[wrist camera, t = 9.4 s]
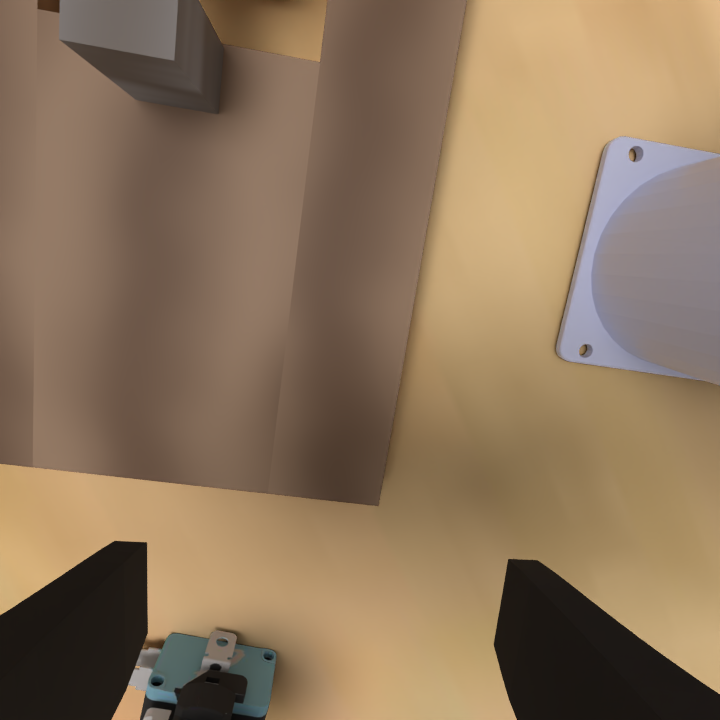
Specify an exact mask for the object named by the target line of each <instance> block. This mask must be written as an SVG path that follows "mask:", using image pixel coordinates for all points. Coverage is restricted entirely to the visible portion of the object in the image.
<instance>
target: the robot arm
mask: <svg viewBox="0 0 720 720" xmlns="http://www.w3.org/2000/svg"><path fill="white" fill-rule="evenodd" d="M630 149H633V150H635V152H636V159H635V161H634V162H633V161H631V160H630V159H629V151H630ZM584 344H586V345H587V351H586V353H585V354H583V355H580V354H579V349H580V347H581V346H582V345H584ZM556 352H557V354H558V356H559V357H560V358H562V359H564V360H566V361H569V362H575V363H582V364H589V365H596V366H603V367H610V368H617V369H624V370H632V371H639V372H646V373H653V374H660V375H667V376H674V377H681V378H688V379H695V380H702V381H707V382H710V383H713V384H716V385H719V386H720V154H717V153H712V152H707V151H701V150H696V149H690V148H685V147H680V146H674V145H669V144H663V143H658V142H653V141H647V140H642V139H636V138H631V137H626V136H624V137H618V138H615V139H613V140H611V141H609V142H608V144H607V145H606V146H605V148H604V150H603V154H602V158H601V162H600V166H599V170H598V174H597V179H596V183H595V187H594V191H593V195H592V199H591V204H590V208H589V212H588V216H587V220H586V224H585V228H584V233H583V237H582V241H581V245H580V249H579V253H578V257H577V262H576V266H575V270H574V274H573V278H572V282H571V287H570V291H569V295H568V299H567V303H566V307H565V311H564V316H563V320H562V324H561V328H560V332H559V336H558V340H557V345H556ZM147 634H148V615H147V543H146V542H124V541H114V542H112V543H111V544H109V545H107V546H106V547H104V548H102V549H101V550H99V551H98V552H96V553H95V554H93V555H92V556H90V557H89V558H87V559H86V560H84V561H83V562H81V563H80V564H78V565H77V566H75V567H74V568H72V569H71V570H69V571H68V572H66V573H65V574H63V575H62V576H60V577H59V578H57V579H56V580H54V581H53V582H51V583H50V584H48V585H47V586H45V587H44V588H42V589H40V590H39V591H37V592H36V593H34V594H33V595H31V596H30V597H28V598H27V599H25V600H24V601H22V602H21V603H19V604H18V605H16V606H15V607H13V608H11V609H10V610H8V611H7V612H5V613H3V614H2V615H0V720H111V719H112V717H113V715H114V713H115V711H116V709H117V707H118V705H119V703H120V701H121V699H122V697H123V695H124V693H125V691H126V689H127V686H128V684H129V681H130V679H131V676H132V674H133V671H134V669H135V666H136V663H137V661H138V658H139V655H140V653H141V650H142V647H143V644H144V642H145V639H146V636H147ZM494 647H495V651H496V655H497V659H498V662H499V666H500V670H501V674H502V677H503V680H504V684H505V687H506V691H507V694H508V697H509V700H510V703H511V706H512V708H513V711H514V713H515V716H516V718H517V720H720V694H718V693H717V692H715V691H714V690H712V689H711V688H709V687H708V686H706V685H705V684H703V683H702V682H700V681H699V680H697V679H696V678H695V677H693V676H692V675H690V674H689V673H687V672H686V671H685V670H683V669H682V668H680V667H679V666H678V665H676V664H675V663H673V662H672V661H670V660H669V659H668V658H666V657H665V656H663V655H662V654H660V653H659V652H658V651H656V650H655V649H654V648H652V647H651V646H650V645H648V644H647V643H646V642H644V641H643V640H641V639H640V638H639V637H637V636H636V635H635V634H633V633H632V632H631V631H629V630H628V629H627V628H626V627H624V626H623V625H622V624H620V623H619V622H618V621H616V620H615V619H614V618H612V617H611V616H610V615H609V614H607V613H606V612H605V611H603V610H602V609H601V608H600V607H598V606H597V605H596V604H595V603H593V602H592V601H591V600H589V599H588V598H587V597H586V596H584V595H583V594H582V593H580V592H579V591H578V590H577V589H575V588H574V587H573V586H572V585H570V584H569V583H568V582H566V581H565V580H564V579H562V578H561V577H560V576H559V575H557V574H556V573H555V572H553V571H552V570H551V569H549V568H548V567H546V566H545V565H543V564H542V563H541V562H539V561H538V560H517V559H508V565H507V570H506V576H505V582H504V588H503V594H502V600H501V605H500V611H499V617H498V623H497V629H496V634H495V640H494Z"/></svg>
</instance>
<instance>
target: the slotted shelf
mask: <svg viewBox="0 0 720 720" xmlns="http://www.w3.org/2000/svg"><path fill="white" fill-rule="evenodd" d="M466 2H467V0H328V1H327V10H326V18H325V26H324V34H323V43H322V51H321V59H320V62H316V61H311V60H305V59H300V58H295V57H289V56H284V55H279V54H274V53H268V52H263V51H258V50H252V49H247V48H242V47H236V46H231V45H226V44H222V43H221V42H220V40H219V38H218V36H217V34H216V32H215V30H214V28H213V27H212V25H211V23H210V21H209V19H208V17H207V15H206V13H205V12H204V10H203V8H202V6H201V4H200V2H199V0H0V464H8V465H17V466H26V467H35V468H44V469H53V470H61V471H70V472H79V473H88V474H97V475H106V476H115V477H124V478H133V479H142V480H151V481H160V482H168V483H177V484H186V485H195V486H204V487H213V488H222V489H231V490H240V491H249V492H258V493H267V494H275V495H284V496H293V497H302V498H311V499H320V500H329V501H338V502H347V503H356V504H365V505H374V506H379V500H380V494H381V489H382V483H383V477H384V471H385V466H386V460H387V454H388V449H389V443H390V437H391V431H392V426H393V420H394V414H395V409H396V403H397V397H398V391H399V386H400V380H401V374H402V368H403V363H404V357H405V351H406V346H407V340H408V334H409V328H410V323H411V317H412V311H413V306H414V300H415V294H416V288H417V283H418V277H419V271H420V265H421V260H422V254H423V248H424V243H425V237H426V231H427V225H428V220H429V214H430V208H431V203H432V197H433V191H434V185H435V180H436V174H437V168H438V163H439V157H440V151H441V145H442V140H443V134H444V128H445V122H446V117H447V111H448V105H449V100H450V94H451V88H452V82H453V77H454V71H455V65H456V60H457V54H458V48H459V42H460V37H461V31H462V25H463V19H464V14H465V8H466Z"/></svg>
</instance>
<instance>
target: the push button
mask: <svg viewBox="0 0 720 720" xmlns="http://www.w3.org/2000/svg"><path fill="white" fill-rule="evenodd" d="M218 639H226V640H227V641H228V642H223V641H217V640H218ZM236 640H237V636H236V635H235V634H234V633H229V632H224V631H218V630H216V631H214V632H212V633H211V636H210V639H206V638H200V637H195V636H189V635H184V634H178V633H173V634H171V635H169V636H168V637H167V639H166V641H165V643H164V646H163V648H162V649H158V648H152V647H149V649H148V650H146V649H142V650H141V653H140V655H139V658H138V661H137V663H136V666H140V668H135V669H134V671H133V674H132V676H131V679H130V681H129V684H128V685H131V686H136V688H135V689H136V690H143V691H146V694H145V698H144V703H143V708H142V713H141V717H140V720H265V718H266V714H267V710H268V707H269V703H270V698H271V691H272V684H273V677H274V671H275V664H276V653H275V652H274V651H273V650H270V649H266V648H256V647H251V646H245V645H239V644H236Z"/></svg>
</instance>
